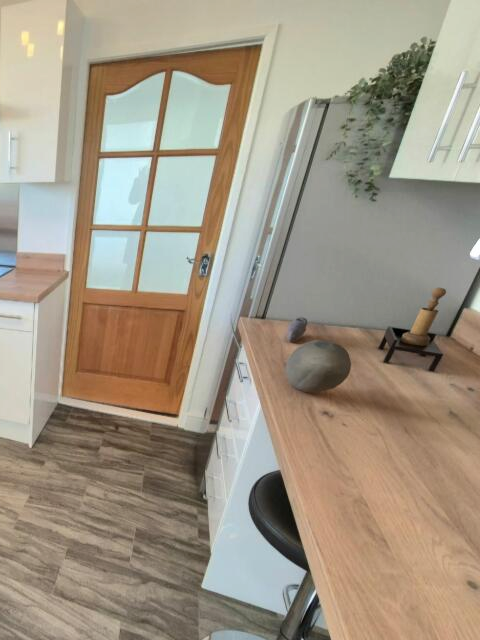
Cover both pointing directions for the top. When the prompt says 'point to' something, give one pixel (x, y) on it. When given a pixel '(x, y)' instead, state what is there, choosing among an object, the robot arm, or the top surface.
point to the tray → (410, 346)
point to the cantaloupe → (318, 366)
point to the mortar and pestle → (424, 321)
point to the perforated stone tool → (296, 329)
